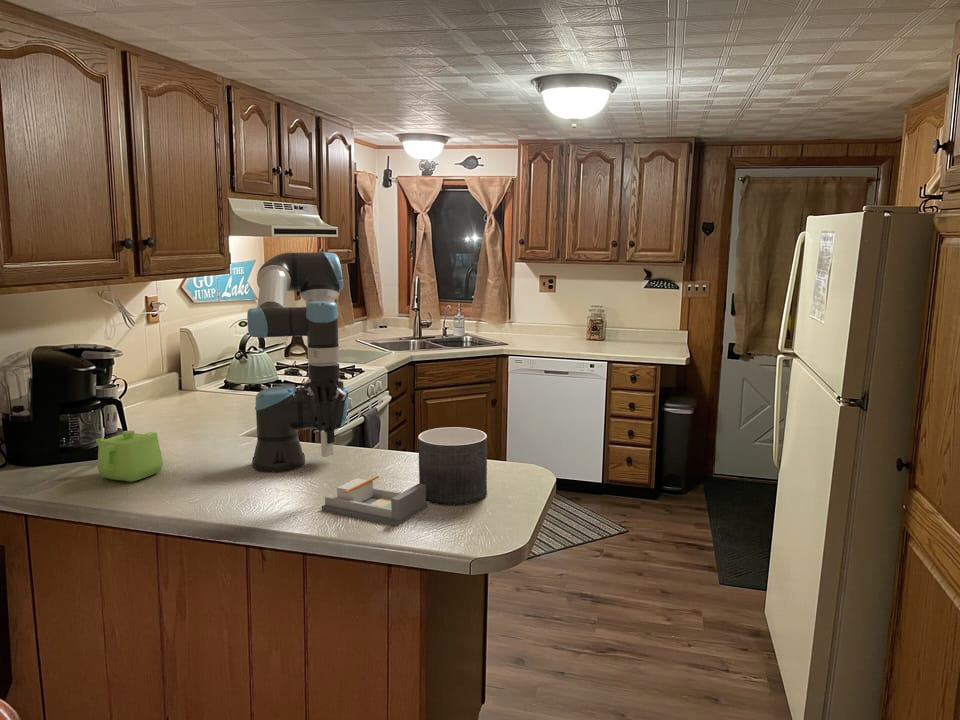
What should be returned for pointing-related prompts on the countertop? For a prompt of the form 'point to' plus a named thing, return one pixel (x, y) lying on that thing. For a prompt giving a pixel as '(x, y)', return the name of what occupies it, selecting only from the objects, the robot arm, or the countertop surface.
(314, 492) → the countertop surface
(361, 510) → the gauge base
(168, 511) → the countertop surface
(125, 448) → the teapot
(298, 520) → the countertop surface
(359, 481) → the cream box orange strip
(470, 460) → the planter
